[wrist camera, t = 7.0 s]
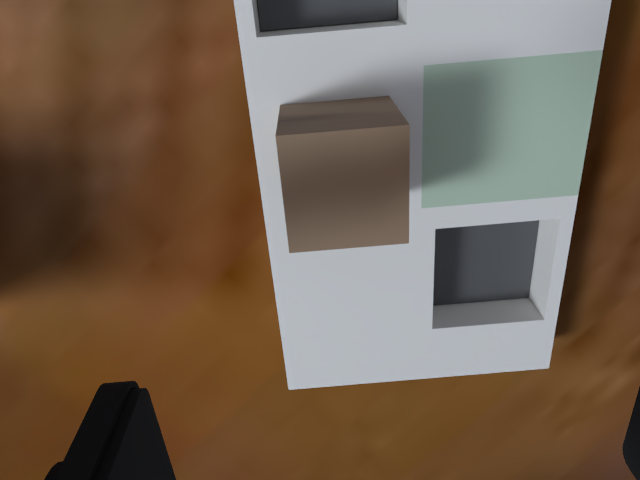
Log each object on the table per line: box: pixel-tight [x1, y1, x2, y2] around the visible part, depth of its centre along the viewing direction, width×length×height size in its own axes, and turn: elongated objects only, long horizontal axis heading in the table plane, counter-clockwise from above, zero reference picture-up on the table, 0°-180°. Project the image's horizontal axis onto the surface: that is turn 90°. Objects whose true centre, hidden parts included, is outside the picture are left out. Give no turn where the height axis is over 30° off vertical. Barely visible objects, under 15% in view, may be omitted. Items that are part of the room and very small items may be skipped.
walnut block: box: [275, 96, 410, 253], centre depth 22 cm, size 5×5×5 cm
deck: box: [234, 0, 611, 390], centre depth 25 cm, size 29×16×4 cm, turn 4°
